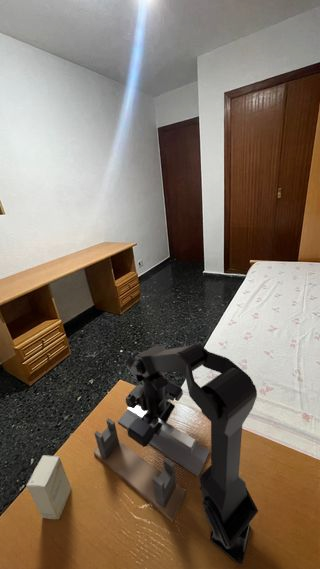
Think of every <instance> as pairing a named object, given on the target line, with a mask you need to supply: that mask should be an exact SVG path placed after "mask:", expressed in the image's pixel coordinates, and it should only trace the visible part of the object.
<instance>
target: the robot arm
mask: <svg viewBox="0 0 320 569" xmlns="http://www.w3.org/2000/svg"><path fill="white" fill-rule="evenodd" d="M138 350H139V349H138ZM138 350H137V349H135V350H134V351H132V352H130V353H131V354H130V355H131V356H129V357H128V359H127V361H126V369H128V371H129V372H130V373H131V374H132V375H133V377H134V378H135V379H136V380H137V382H142V384H137V385H136V386H135V387H134V388H133V389H132V390H131V391H130V392H129V393H128V395H127V396H126V397H125V404H126V406H127V408H128V407H130V408H135V407H136V406H139V407H141V410H143V411H147V413H146V414H144V416H143V417H142V418H141V419H140V418H138V417H137V418H135V419H134V421H133V422H132V423H131V424H130V425H129V427H128V428H126V431H127V436H128V437H129V438H131V440H133V441H135V442H136V443H137V444H139V446H141V447H143V448H145V447H147V446H149V445H150V444H149V442H150V441H151V440H152V438H153V436H154V433H155V434H156V435H157V436H158V435H159V433H160V431H161V428H162V425H163V424H161V423H160V422H159V419H161V420H163V421H165V422H166V423H168V420H169V418H170V416H171V414H172V413H173V411H174V409H175V408H176V405H175V404H174V403H172V402H171V399H170V398H171V397H173V398H174V401H176V402H179V401H180V399H181V398H182V397H183V395H184V393H183V389H182V387H181V386H180V385H177V384H176V383H173V382H172V381H169V380H168V379H167V378H166V377H165V374H164V372H165V373H166V372H167V373H172V372H173V373H180V374H182V376H183V377H184V378H185V380H186V385H187V386H186V387H187V391H188V394H189V398H191V400H192V401H193V402H194V403H195V404H196V405H197V408H199V409H200V411H201V414H202V415H204V416H205V417H206V418H207V419H208V420H209V421H210V466H209V467H208V468H206V469H205V470H204V471H203V472H202V473H200V475H199V483H200V486H199V489H200V491H201V498H202V506H203V510H204V512H205V513H204V514H205V517H206V520H207V522H208V524H209V526H210V527H211V532H210V535H209V539H210V541H211V543H213V544H214V545H215V546H216V547H217V548H219V549H220V550H221V551H223V552H224V553H225V554H226V555H228V556H229V557H230V558H231V559H233V560H234V561H235V562H236V563H237V564H239V565H240V566H242V565H243V563H244V562H243V561H244V558H245V554H246V550H247V545H248V541H249V537H250V533H251V521H252V520H253V519H254V517H255V516H256V515H257V514H258V512H259V509H258V508H257V505H256V504H255V502H254V500H253V498H252V496H251V494H250V492H249V490H248V488H247V485H246V481H245V480H244V479H243V477H241V475H240V465H241V464H240V462H241V448H242V436H243V435H242V433H243V425H244V423H245V421H246V419H247V418H248V417H249V415H250V413H251V411H252V410H253V408H254V405H255V403H256V401H257V400H256V399H257V397H258V393H257V392H258V391H257V387H256V385H255V384H254V382H253V380H252V378H251V376H249V374H247V372H245V371H244V370H243V369H241V368H240V366H238V365H236V364H235V362H234V361H232V360H231V359H229V358H228V357H226V356H223V355H220V354H217V353H213V352H211V351H208V350H207V349H206V348H205V347H204V346H202V345H201V344H200V343H192V344H190V345H185V346H180V347H179V346H178V347H174V348H167V349H165V347H164V346H163V345H155V346H152V347H150V348H149V349H147V350H145V351H142V352H139V351H138ZM201 366H203V367H204V368H206V369H209V370H211V371H215V372H217V373H220V374H218V375H216V376H215V377H214V378H213V379H211V380H209V381H208V382H207V383H205V384H204V385H202V386H200V385H199V384H198V383H197V382H196V381H195V377H194V374H193V371H195V370H197V369H198V368H200V367H201ZM158 418H159V419H158ZM212 537H213V538H212Z"/></svg>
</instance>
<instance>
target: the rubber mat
mask: <svg viewBox="0 0 320 569" xmlns="http://www.w3.org/2000/svg"><path fill="white" fill-rule="evenodd" d="M134 419H135V418H134V417H133V416H131V415H129V414H128V409H126V411H125V412H124V413H123V414H122V415H121V417H120V418H119V419H118V420H117V423H119V424H120V425H121V426H123V427H124V428H125V429H127V428H128V427H129V425H130V424H131V423H132V422H133V421H134ZM148 445H151V446H152V447H153V448H155V450H157V451H159V452H160V453H162V454H164V455H165V456H167V457H168V458H169V459H171V460H172V461H173V462H176V463H177V464H178V465H179V466H181V467H182V468H184V469H186V471H189V472H190V473H191V474H193V475H195V477H197V478H200V476H201V472H202V470H203V468H204V465H205V464H206V461H207V459H208V456H209V455H210V453H211V449H210V450H209V448H206V447H205V446H203V445H201V444H199V443H198V442H196V441H195V445H196V446H195V448H194V450H193V451H192V453H189V452H188V451H186V450H185V449H183V448H181V447H180V446H178V445H177V444H175V443H174V442H172V441H170V440H169V439H167V438H166V437H164V436H162V435H161V434H159V435H158V436H157V435H156V434H155V433H154V436H153V438H152V440H151V441H150V442H149V444H148Z"/></svg>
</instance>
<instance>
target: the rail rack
mask: <svg viewBox="0 0 320 569" xmlns="http://www.w3.org/2000/svg"><path fill="white" fill-rule="evenodd" d="M106 425H107V427H106V428H105V429H104V430H103V431H102V433H101V432H100V431H98V430H96V431H95V432H94V437H95V441H96V444H97V446H96V448H95V449H94V450H93V454H94V455H95V456H96V457H97V459H99V460H100V461H102V462H103V463H104V464H105V465H106V466H107V467H108V468H110V469H111V470H112V471H113V472H115V474H117V475H118V476H119V477H120V478H121V479H123V481H125V482H126V483H127V484H128V485H129V486H130V487H132V489H134V490H135V491H136V492H137V493H139V494H140V496H142V497H143V498H144V499H146V500H147V501H148V502H149V503H150V504H151V505H152V506H153V507H155V508H156V509H157V510H158V511H160V513H162V515H164V516H165V517H166V518H167V519H169V520H170V521H171V522H174V520H175V518H176V515H177V514H178V511H179V509H180V507H181V505H182V503H183V500H184V498H185V496H186V494H187V490H186V489H185V488H184V487H182V486H181V485H179V484H178V483H177V481H176V478H177V477H176V470H175V463H174V461H171V460H169V459H168V458H167V457H164V458H163V469H162V470H159V469H158V468H157V467H155V466H154V465H152V464H151V463H150V462H148V461H147V460H146V459H144V458H143V457H142V456H141V455H139V454H138V453H136V452H135V451H134V450H132V449H131V448H130V447H128V446H127V445H126V444H124V442H122V441H121V440H119V437H118V431H117V427H116V423H115V421H114V420H113V419H111V418H107V419H106Z"/></svg>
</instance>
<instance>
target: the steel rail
mask: <svg viewBox="0 0 320 569" xmlns="http://www.w3.org/2000/svg"><path fill="white" fill-rule="evenodd" d="M126 410H128V414H129V415H131V416H133V417H134V418H137V417H138V418H140V419H141V418H142V417H143V416H144V414H146V413H147V411H143V410H141V406H138V405H137V406H136V407H135V408H130V407H128V406H127V409H126ZM158 419H159V418H158ZM159 422H160V423H161V424H163V425H162V428H161V431H160V433H159V434H161V435H162V436H164V437H166V438H167V439H169V440H170V441H172V442H174V443H175V444H177V445H178V446H180V447H181V448H183V449H185V450H186V451H188V452H189V453H192V451H193V450H194V448H195V446H196V445H195V442H196V439H195V438H193V437H191V435H188V434H187V433H184V432H183V431H182V430H180V429H178V428H176V427H175V426H173V425H171V424H170V423H168V422H167V423H166V422H165V421H163V420H161V419H159Z"/></svg>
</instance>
